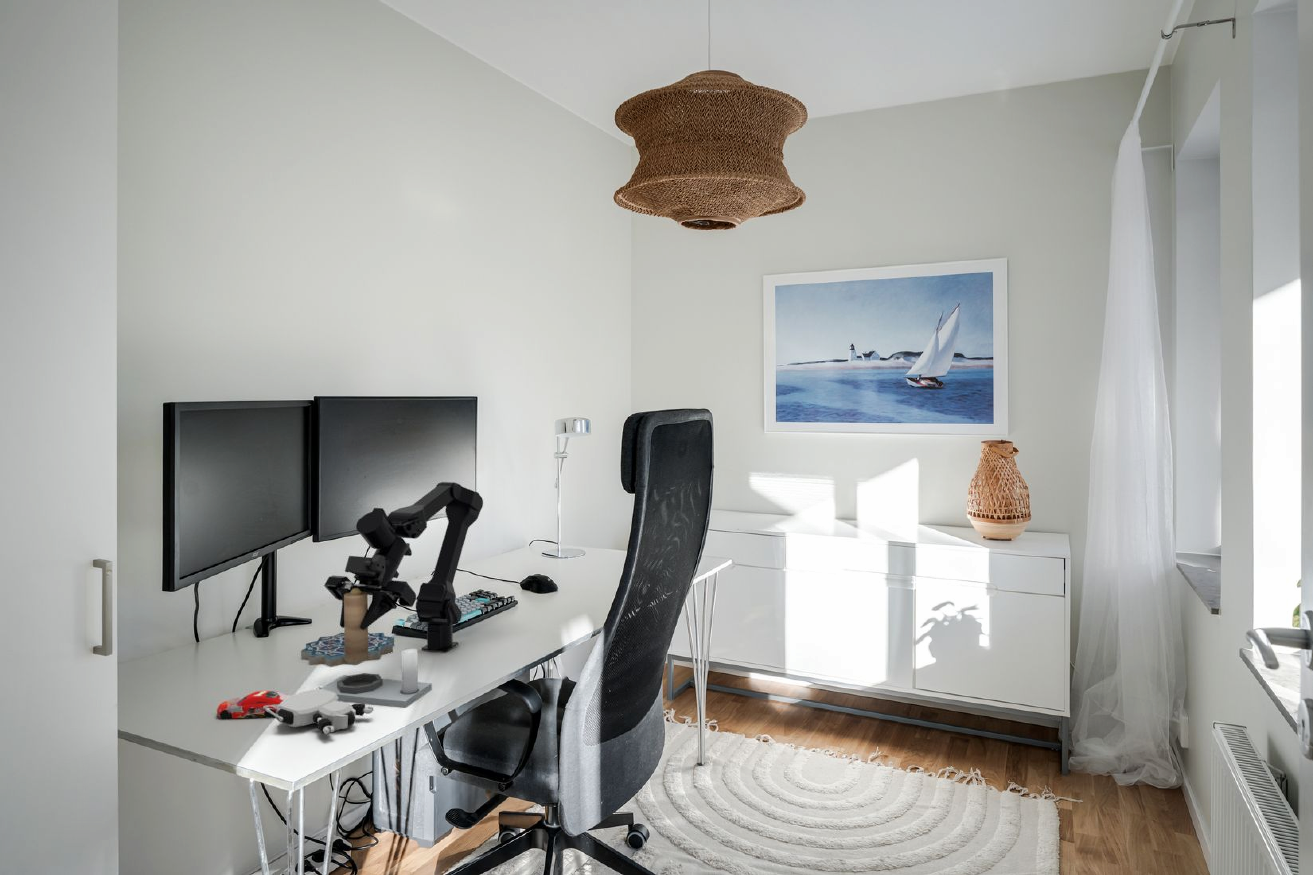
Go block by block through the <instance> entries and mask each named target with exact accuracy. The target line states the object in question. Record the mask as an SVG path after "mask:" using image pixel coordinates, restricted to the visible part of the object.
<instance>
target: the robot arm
mask: <svg viewBox="0 0 1313 875" xmlns="http://www.w3.org/2000/svg"><path fill="white" fill-rule="evenodd" d="M483 507H484V499H483V498H482V496H481V495H480V493H479V492H477V491H474V490H472V489H469V488H467V487H464V486H462V485H461V484H460V483H457V482H450V481H449V482H448V481H441V482H439V483H437V484H436V486H435V487H434V488H432V489H431V491H429V492H428V493H426V494H424V496H422V497H421V498H420V499H419V500H417V501H416V502H414V503H413V504H411V505H407V506H404V507H399V508H397V509H395V510H393V511H391V512H390V513H388V514H387V513H386V511H385V509H384V508H382V507H374V508H373V509H372V511H370V512H368V513H366V514H364V515H363V516H362V517H360V518H358V520H357V521H356V525H355V528H356V531H357V533H358V534H360V536H361V537H362V538H363V540H364V541H365V542H366V544H367V545H368V546H369V547H370V548H371V549H374V550H375V551H374V553H373V555H372V557H365V556H358V555H355V556H354V555H348V558H347V562H346V566H345V569H344V572H345V573H351V574H353V578H354V579H355V580H356V581H358V583H354V582H352V581H351V579H349V577H348V576H345V575H343V576H342V575H331V576H328V578H327V579H326V582H325V583H324V585H323V586H324V588H325V589H326V590H327V591H328V592H329V593H330V594H331V595H332V596H333V597H334V599H336V600H338V601H341V611H340V612H341V613H340V621H339V626H340V627H341V629H344V594H346V593H350V592H351V590H352V589H354V588H358V589H360V591H361V592H367V593H368V596H371V602H370V604H369V606H368V610H367V612H366V614H365V616H364V618H363V620H362V623H361V626H360V628H361V629H362V630H365V629H366V628H367V627H368V628H369V627H370V626H372V624H373V623H375V622H376V621H377V620H379V619H380V618H381V617H383V616H384V615H386V614H387V613H388V612H390V611H392V610H395V609H397V607H398V605H397V602H398V603H399V606H400V607H405V608H406V607H408V608H413V606H414V604H415V611H416V614H417V619H418V623H420V624H427V625H426V626H427V627H426V630H427V632H426V642H427V644H426V645H424V646H422V647H421V651H426V650H428V651H429V652H438V651H441V652H443V653H447V652H449V651H450V650H452V649H453V648H455V647H457V646H458V645H459V642H458V641H453V625H458V624H459V623H460V622H461V620H462V610H461V608H460V607H459V606H458V605H457V603H456V599H457V596H456V595H457V594H456V591H455V587H454V585H453V583H454V580H455V576H456V574H457V569H458V566H459V562H460V559H461V554H462V551H463V548H464V545H465V542H466V537H467V533H468V530H469V528H470V527H471V526H472V525H473V524H474V523H475V522H476V521H477V520H478V518H479V516H480V514H481V511H482V509H483ZM444 508H445V510H444V513H445V515H446V519H447V527H446V530H445V534H444V536H443V541H442V543H441V547H440V550H439V553H438V557H437V559H436V560H437V561H436V564H435V568H434V571H433V575H432V576H431V579H430V580H428V581H427V582H422V583H421V584H420V586H419V587H420V588H419V592H418V594H416V592H415V591H414V589H413V588H412V586H410V585H409V583H408V582H407V581H404V580H403V581H402V580H394V579H398V577H399V576H400V572H398V569H399V567H400V565H401V562H402V561H403V559H404V557H405V556H406V557H408V556H409V557H410V556H412V554H413V553H412V549H411V547H410V543H409V542H406V541H405V539H418V538H420V537H421V535H422V534H423V533H424V532H425V530H426V529H427V528H428V526H427V525H428V522H429V520H430V519H431V518H432V517H434V516H435V515H436V514H438V513H439V512H440V511H441V510H443V509H444ZM456 645H457V646H456ZM428 651H427V652H428ZM441 652H440V653H441Z"/></svg>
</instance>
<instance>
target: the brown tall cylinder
mask: <svg viewBox="0 0 1313 875" xmlns="http://www.w3.org/2000/svg"><path fill="white" fill-rule="evenodd" d="M368 596H369V595H368V593H367V592H361V591H360V589H358V588H354V589H352V590H351V592H350V593H346V594H344V628H343V629H344V630H343V631H344V632H343V633H344V641H345V661H347V662H359V661H363V660H366V659H367V658H368V633H369V626H368V627H367V628H366V629H365V630H362V629H361V628H360V626H361V623H362V620H363V618H364V616H365V614H366V612H367V610H368V608H369V606H368V605H369V604H368V603H369V602H368V598H369V597H368Z"/></svg>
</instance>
